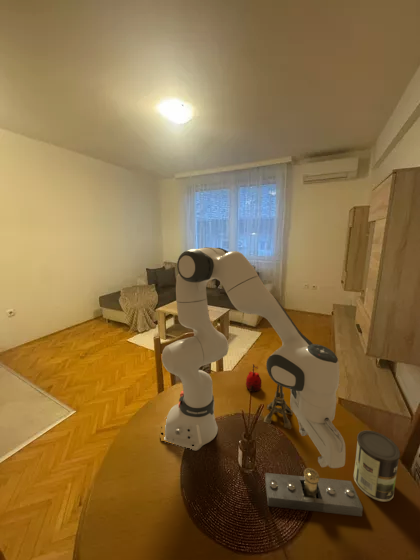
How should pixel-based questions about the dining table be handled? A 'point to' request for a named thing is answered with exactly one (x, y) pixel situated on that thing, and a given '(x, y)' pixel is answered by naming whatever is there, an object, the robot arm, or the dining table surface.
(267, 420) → the eiffel tower
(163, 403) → the dining table surface
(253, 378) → the red rounded piece
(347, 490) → the grey peg board
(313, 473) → the pin
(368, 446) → the coffee can
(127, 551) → the dining table surface
